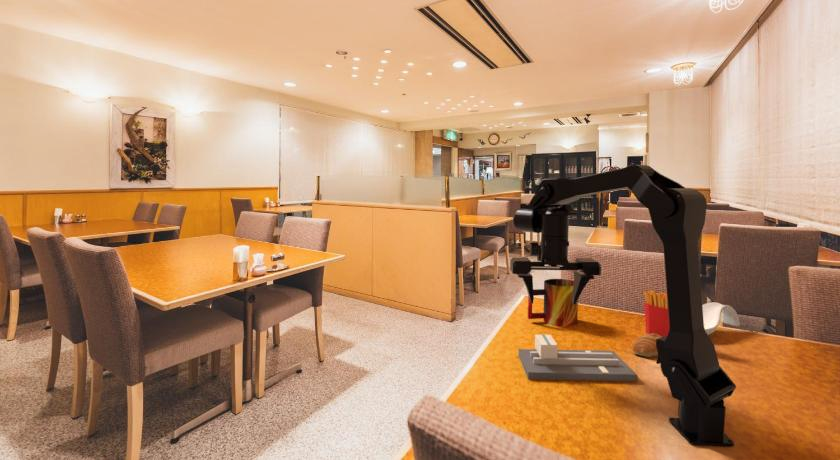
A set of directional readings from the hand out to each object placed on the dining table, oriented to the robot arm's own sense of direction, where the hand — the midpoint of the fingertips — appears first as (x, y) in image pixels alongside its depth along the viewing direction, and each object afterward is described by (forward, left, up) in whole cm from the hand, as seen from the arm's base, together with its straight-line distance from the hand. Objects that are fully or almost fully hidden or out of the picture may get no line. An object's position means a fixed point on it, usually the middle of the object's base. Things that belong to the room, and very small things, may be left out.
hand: (552, 303), depth 88 cm
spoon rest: (+23, -47, -14) cm, 54 cm away
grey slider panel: (-2, -4, -14) cm, 15 cm away
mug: (+28, -8, -14) cm, 32 cm away
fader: (-2, +2, -12) cm, 13 cm away
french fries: (+14, -31, -14) cm, 37 cm away
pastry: (+7, -25, -14) cm, 30 cm away
